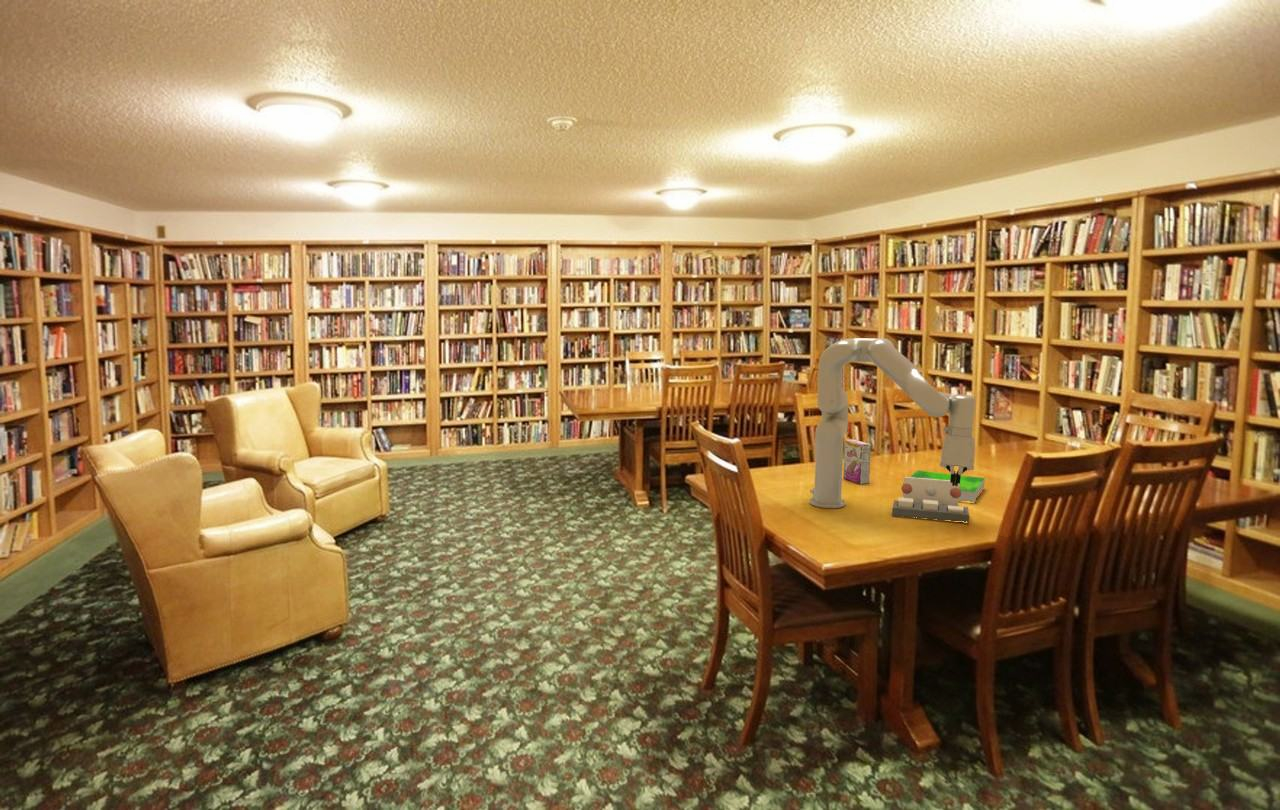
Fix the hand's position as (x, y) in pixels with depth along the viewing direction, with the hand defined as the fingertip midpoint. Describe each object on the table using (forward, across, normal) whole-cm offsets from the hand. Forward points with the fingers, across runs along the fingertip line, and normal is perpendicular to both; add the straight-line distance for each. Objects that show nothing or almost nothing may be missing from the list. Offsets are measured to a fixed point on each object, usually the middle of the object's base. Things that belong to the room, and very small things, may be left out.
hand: (954, 485), depth 246 cm
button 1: (+10, -15, 0) cm, 18 cm away
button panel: (+12, -7, +2) cm, 14 cm away
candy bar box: (+13, -35, +41) cm, 56 cm away
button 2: (+11, +1, 0) cm, 11 cm away
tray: (+12, -2, +36) cm, 38 cm away
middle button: (+10, -7, 0) cm, 12 cm away
